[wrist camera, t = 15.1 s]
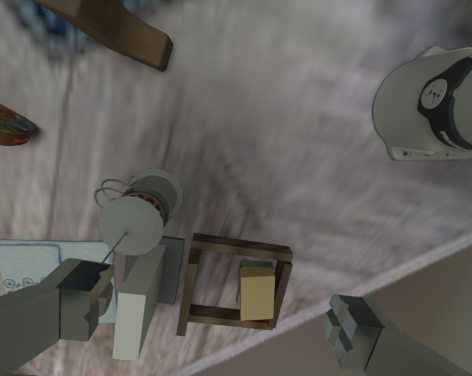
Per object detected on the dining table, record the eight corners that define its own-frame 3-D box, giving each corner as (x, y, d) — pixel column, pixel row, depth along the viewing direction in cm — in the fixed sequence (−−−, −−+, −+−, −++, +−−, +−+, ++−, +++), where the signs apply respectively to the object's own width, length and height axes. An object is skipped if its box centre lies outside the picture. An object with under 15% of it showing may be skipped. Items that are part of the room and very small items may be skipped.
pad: (184, 239, 49) (184, 240, 48) (174, 302, 52) (174, 304, 51) (129, 231, 47) (128, 232, 47) (123, 296, 51) (122, 298, 50)
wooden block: (174, 43, 40) (141, -13, 23) (164, 72, 41) (126, 40, 24) (115, 17, 38) (32, -66, 21) (107, 47, 39) (21, -7, 22)
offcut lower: (271, 261, 52) (274, 269, 49) (264, 299, 54) (267, 310, 51) (241, 258, 51) (243, 267, 48) (236, 298, 53) (237, 308, 50)
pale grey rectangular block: (165, 245, 48) (145, 295, 34) (158, 296, 51) (137, 360, 37) (146, 242, 48) (118, 292, 34) (140, 293, 50) (112, 358, 37)
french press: (162, 231, 48) (107, 346, 24) (106, 194, 45) (-18, 281, 21) (194, 190, 46) (170, 270, 22) (139, 150, 44) (43, 190, 20)
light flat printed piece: (0, 237, 47) (-10, 243, 44) (116, 238, 48) (112, 244, 46) (18, 325, 52) (10, 334, 49) (123, 323, 53) (119, 332, 51)
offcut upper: (271, 266, 49) (274, 276, 46) (269, 307, 51) (273, 318, 48) (239, 268, 48) (241, 277, 45) (239, 309, 50) (240, 320, 48)
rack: (288, 246, 51) (301, 270, 43) (269, 319, 55) (278, 352, 47) (193, 233, 48) (189, 255, 41) (181, 309, 53) (175, 342, 45)
